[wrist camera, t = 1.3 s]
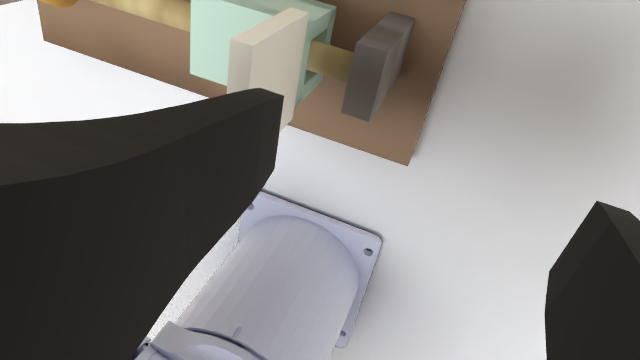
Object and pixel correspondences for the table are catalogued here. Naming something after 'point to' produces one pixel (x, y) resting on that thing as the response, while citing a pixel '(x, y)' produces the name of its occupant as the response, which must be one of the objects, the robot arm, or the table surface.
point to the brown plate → (329, 60)
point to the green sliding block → (259, 45)
